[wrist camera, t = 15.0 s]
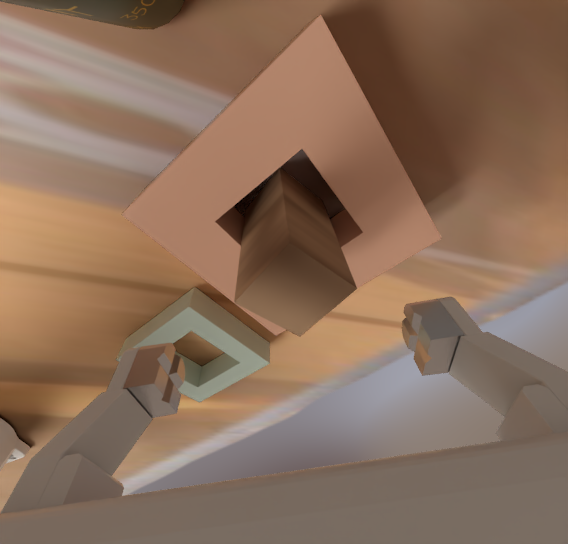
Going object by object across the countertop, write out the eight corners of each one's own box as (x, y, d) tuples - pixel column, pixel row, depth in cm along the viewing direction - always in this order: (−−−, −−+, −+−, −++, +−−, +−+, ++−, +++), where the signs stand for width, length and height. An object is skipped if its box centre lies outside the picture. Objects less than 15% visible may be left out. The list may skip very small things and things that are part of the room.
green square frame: (203, 381, 34) (199, 402, 32) (125, 338, 29) (115, 359, 27) (269, 343, 30) (269, 363, 28) (194, 286, 25) (188, 306, 23)
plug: (287, 238, 23) (299, 336, 15) (245, 210, 21) (234, 302, 13) (322, 200, 21) (357, 288, 13) (279, 166, 20) (289, 242, 12)
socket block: (274, 302, 27) (275, 335, 24) (144, 189, 20) (121, 214, 17) (416, 211, 22) (441, 238, 19) (308, 22, 15) (320, 14, 12)
